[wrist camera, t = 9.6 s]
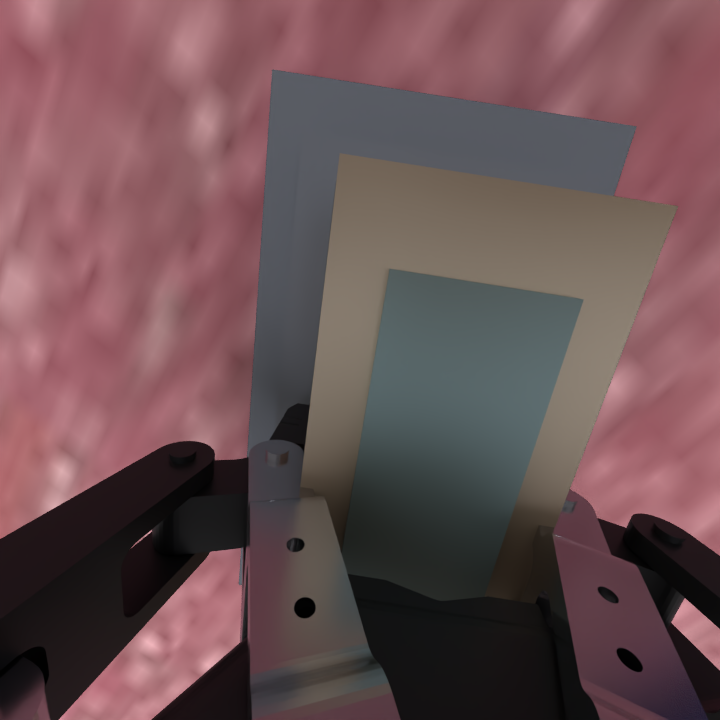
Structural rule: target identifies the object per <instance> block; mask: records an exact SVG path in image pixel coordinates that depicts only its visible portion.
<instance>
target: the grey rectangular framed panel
mask: <svg viewBox="0 0 720 720" xmlns="http://www.w3.org/2000/svg"><path fill="white" fill-rule="evenodd" d="M636 127H637V126H630V125H624V124H617V123H611V122H605V121H598V120H592V119H585V118H579V117H573V116H566V115H560V114H553V113H547V112H541V111H534V110H528V109H521V108H515V107H509V106H502V105H496V104H489V103H483V102H477V101H470V100H464V99H457V98H451V97H445V96H438V95H432V94H425V93H419V92H413V91H406V90H400V89H394V88H387V87H381V86H374V85H368V84H362V83H355V82H349V81H342V80H336V79H330V78H323V77H317V76H310V75H304V74H298V73H291V72H285V71H278V70H272V82H271V98H270V113H269V128H268V144H267V159H266V175H265V190H264V205H263V221H262V236H261V251H260V267H259V282H258V298H257V313H256V328H255V344H254V359H253V374H252V390H251V405H250V420H249V436H248V451H247V457H249V452H250V450H251V449H252V447H254V446H255V445H257V444H258V443H261V442H264V441H268V440H269V439H270V438H271V436H272V434H273V433H274V431H275V429H276V428H277V426H278V424H279V423H280V421H281V419H282V418H283V417H284V414H285V413H286V411H287V409H288V408H290V407H291V406H293V405H295V404H297V403H300V404H306V405H309V404H310V400H311V391H312V383H313V375H314V366H315V358H316V349H317V341H318V332H319V324H320V316H321V307H322V299H323V290H324V282H325V273H326V265H327V256H328V248H329V240H330V231H331V223H332V214H333V206H334V197H335V189H336V180H337V172H338V164H339V155H340V153H342V154H348V155H354V156H361V157H367V158H373V159H380V160H386V161H393V162H399V163H405V164H412V165H418V166H425V167H431V168H437V169H444V170H450V171H456V172H463V173H469V174H476V175H482V176H488V177H495V178H501V179H508V180H514V181H520V182H527V183H533V184H540V185H546V186H552V187H559V188H565V189H571V190H578V191H584V192H591V193H597V194H603V195H610V196H614V193H615V190H616V187H617V184H618V181H619V178H620V175H621V172H622V169H623V166H624V163H625V160H626V157H627V154H628V151H629V148H630V145H631V142H632V139H633V136H634V133H635V130H636ZM242 560H243V548H241V559H240V574H239V585H242Z"/></svg>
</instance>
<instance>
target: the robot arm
mask: <svg viewBox="0 0 720 720" xmlns="http://www.w3.org/2000/svg"><path fill="white" fill-rule="evenodd" d="M309 408H310V404H309V405H306V404H300V403H297V404H295V405H293V406H291V407H290V408H288V409H287V411H286V413H285V414H284V417H283V418H282V419H281V421H280V423H279V424H278V426H277V428H276V429H275V431H274V433H273V434H272V436H271V438H270V439H269V440H268V441H264V442H261V443H258V444H257V445H255V446H254V447H252V449H251V450H250V452H249V457H247V458H243V459H236V460H215V453H214V450H213V449H212V448H211V447H210V446H208V445H207V444H204V443H201V442H195V441H183V442H176V443H172V444H168V445H166V446H163V447H161V448H159V449H157V450H156V451H154V452H152V453H150V454H149V455H147V456H145V457H143V458H142V459H140V460H138V461H136V462H135V463H133V464H131V465H129V466H128V467H126V468H124V469H122V470H121V471H119V472H117V473H115V474H114V475H112V476H110V477H108V478H107V479H105V480H103V481H101V482H100V483H98V484H96V485H94V486H92V487H91V488H89V489H87V490H85V491H84V492H82V493H80V494H78V495H77V496H75V497H73V498H71V499H70V500H68V501H66V502H64V503H63V504H61V505H59V506H57V507H56V508H54V509H52V510H50V511H49V512H47V513H45V514H43V515H42V516H40V517H38V518H36V519H35V520H33V521H31V522H29V523H28V524H26V525H24V526H22V527H21V528H19V529H17V530H15V531H14V532H12V533H10V534H8V535H7V536H5V537H3V538H1V539H0V720H59V719H60V717H61V716H62V715H63V714H64V713H65V712H66V711H67V710H68V709H69V708H70V707H71V705H72V704H73V703H74V702H75V701H76V700H77V699H78V698H79V697H80V696H81V695H82V693H83V692H84V691H85V690H86V689H87V688H88V687H89V686H90V685H91V684H92V682H93V681H94V680H95V679H96V678H97V677H98V676H99V675H100V674H101V673H102V672H103V670H104V669H105V668H106V667H107V666H108V665H109V664H110V663H111V662H112V661H113V659H114V658H115V657H116V656H117V655H118V654H119V653H120V652H121V651H122V650H123V649H124V647H125V646H126V645H127V644H128V643H129V642H130V641H131V640H132V639H133V638H134V637H135V635H136V634H137V633H138V632H139V631H140V630H141V629H142V628H143V627H144V626H145V624H146V623H147V622H148V621H149V620H150V619H151V618H152V617H153V616H154V615H155V614H156V612H157V611H158V610H159V609H160V608H161V607H162V606H163V605H164V604H165V603H166V601H167V600H168V599H169V598H170V597H171V596H172V595H173V594H174V593H175V592H176V591H177V589H178V588H179V587H180V586H181V585H182V584H183V583H184V582H185V581H186V580H187V578H188V577H189V576H190V575H191V574H192V573H193V572H194V571H195V570H196V569H197V568H198V566H199V565H200V564H201V563H202V562H203V561H204V560H205V559H206V557H207V556H208V555H209V553H210V552H211V551H219V550H227V549H236V548H243V560H242V603H241V628H240V643H239V644H238V645H237V646H236V647H235V648H233V649H232V650H231V651H230V652H229V653H228V654H227V655H225V656H224V657H223V658H222V659H221V660H220V661H219V662H217V663H216V664H215V665H214V666H213V667H212V668H210V669H209V670H208V671H207V672H206V673H205V674H204V675H202V676H201V677H200V678H199V679H198V680H197V681H195V682H194V683H193V684H192V685H191V686H190V687H189V688H187V689H186V690H185V691H184V692H183V693H182V694H180V695H179V696H178V697H177V698H176V699H175V700H174V701H172V702H171V703H170V704H169V705H168V706H167V707H165V708H164V709H163V710H162V711H161V712H160V713H159V714H157V715H156V716H155V717H154V718H153V719H152V720H720V671H719V670H718V669H717V668H716V667H715V666H714V665H713V664H712V663H711V662H710V661H709V660H708V659H707V658H706V657H705V656H704V655H703V654H702V653H701V652H700V651H699V650H698V649H697V648H696V647H695V646H694V645H693V644H692V643H691V642H690V641H689V640H688V639H687V638H686V637H685V636H684V635H683V634H682V633H681V632H680V631H679V630H678V629H677V628H676V627H675V626H674V625H673V624H672V623H671V621H672V620H673V618H674V616H675V614H676V612H677V611H678V609H679V607H680V605H681V603H682V602H683V600H684V598H686V599H687V600H688V601H689V602H690V603H691V604H692V605H694V606H695V607H696V608H697V609H698V610H699V611H700V612H701V613H703V614H704V615H705V616H706V617H707V618H708V619H709V620H710V621H712V622H713V623H714V624H715V625H716V626H717V627H718V628H720V556H719V555H718V554H716V553H715V552H714V551H712V550H711V549H709V548H708V547H707V546H705V545H704V544H702V543H701V542H700V541H698V540H697V539H696V538H694V537H693V536H691V535H690V534H689V533H687V532H686V531H684V530H682V529H681V528H679V527H677V526H676V525H674V524H672V523H670V522H668V521H665V520H663V519H661V518H658V517H655V516H652V515H648V514H634V515H633V516H632V517H631V519H630V521H629V523H628V526H627V528H625V527H622V526H619V525H616V524H613V523H610V522H607V521H605V520H602V519H599V518H597V516H596V514H595V511H594V509H593V507H592V506H591V504H590V503H589V502H588V501H587V500H586V499H584V498H583V497H582V496H580V495H579V494H577V493H576V492H574V491H572V490H569V492H568V495H567V497H566V500H565V503H564V505H563V508H562V510H561V513H560V516H559V518H558V521H557V523H556V526H555V528H554V527H548V526H542V525H539V526H538V529H537V531H536V534H535V537H534V540H533V542H532V548H533V564H532V570H531V574H530V577H529V580H528V583H527V585H526V588H525V591H524V593H523V596H522V599H521V601H514V600H508V599H502V598H495V597H489V596H487V597H477V598H468V599H458V600H448V601H439V600H435V599H432V598H430V597H427V596H425V595H422V594H420V593H417V592H415V591H412V590H410V589H407V588H405V587H402V586H400V585H397V584H395V583H392V582H390V581H387V580H383V579H377V578H371V577H364V576H358V575H352V574H347V571H346V567H345V564H344V560H343V557H342V553H341V550H340V547H339V543H338V540H337V536H336V533H335V529H334V526H333V523H332V519H331V516H330V512H329V509H328V505H327V502H326V499H325V497H324V496H315V493H314V490H313V489H310V488H304V487H300V484H301V476H302V467H303V459H304V451H305V442H306V434H307V425H308V417H309ZM150 530H152V532H151V533H150V534H148V535H147V536H146V537H145V538H143V539H142V540H141V541H140V542H139V543H137V544H136V545H135V546H134V547H133V548H131V547H132V546H133V545H134V544H135V543H136V542H137V541H138V540H139V539H141V538H142V537H143V536H144V535H146V534H147V533H148V532H149V531H150Z"/></svg>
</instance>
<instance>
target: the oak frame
mask: <svg viewBox="0 0 720 720" xmlns="http://www.w3.org/2000/svg"><path fill="white" fill-rule="evenodd" d="M677 208H678V206H674V205H667V204H661V203H655V202H648V201H642V200H635V199H629V198H623V197H616V196H610V195H603V194H597V193H591V192H584V191H578V190H571V189H565V188H559V187H552V186H546V185H540V184H533V183H527V182H520V181H514V180H508V179H501V178H495V177H488V176H482V175H476V174H469V173H463V172H456V171H450V170H444V169H437V168H431V167H425V166H418V165H412V164H405V163H399V162H393V161H386V160H380V159H373V158H367V157H361V156H354V155H348V154H342V153H340V155H339V164H338V172H337V180H336V189H335V197H334V206H333V214H332V223H331V231H330V240H329V248H328V256H327V265H326V273H325V282H324V290H323V299H322V307H321V316H320V324H319V332H318V341H317V349H316V358H315V366H314V375H313V383H312V391H311V400H310V408H309V417H308V425H307V434H306V442H305V451H304V459H303V467H302V476H301V484H300V487H304V488H310V489H313V490H314V493H315V496H324V497H325V499H326V502H327V505H328V509H329V512H330V516H331V519H332V523H333V526H334V529H335V533H336V536H337V540H338V543H339V547H340V550H341V553H342V557H343V560H344V564H345V567H346V571H347V574H352V575H358V576H364V577H371V578H377V579H383V580H387V581H390V582H392V583H395V584H397V585H400V586H402V587H405V588H407V589H410V590H412V591H415V592H417V593H420V594H422V595H425V596H427V597H430V598H432V599H435V600H439V601H448V600H458V599H468V598H477V597H487V596H489V597H495V598H502V599H508V600H514V601H521V599H522V596H523V593H524V591H525V588H526V585H527V583H528V580H529V577H530V574H531V570H532V564H533V548H532V542H533V540H534V537H535V534H536V531H537V529H538V526H539V525H542V526H548V527H554V528H555V526H556V523H557V521H558V518H559V516H560V513H561V510H562V508H563V505H564V503H565V500H566V497H567V495H568V492H569V490H570V487H571V484H572V482H573V479H574V477H575V474H576V471H577V469H578V466H579V463H580V461H581V458H582V456H583V453H584V450H585V448H586V445H587V443H588V440H589V437H590V435H591V432H592V430H593V427H594V424H595V422H596V419H597V416H598V414H599V411H600V409H601V406H602V403H603V401H604V398H605V396H606V393H607V390H608V388H609V385H610V383H611V380H612V377H613V375H614V372H615V370H616V367H617V364H618V362H619V359H620V356H621V354H622V351H623V349H624V346H625V343H626V341H627V338H628V336H629V333H630V330H631V328H632V325H633V323H634V320H635V317H636V315H637V312H638V309H639V307H640V304H641V302H642V299H643V296H644V294H645V291H646V289H647V286H648V283H649V281H650V278H651V276H652V273H653V270H654V268H655V265H656V262H657V260H658V257H659V255H660V252H661V249H662V247H663V244H664V242H665V239H666V236H667V234H668V231H669V229H670V226H671V223H672V221H673V218H674V216H675V213H676V210H677Z"/></svg>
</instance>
